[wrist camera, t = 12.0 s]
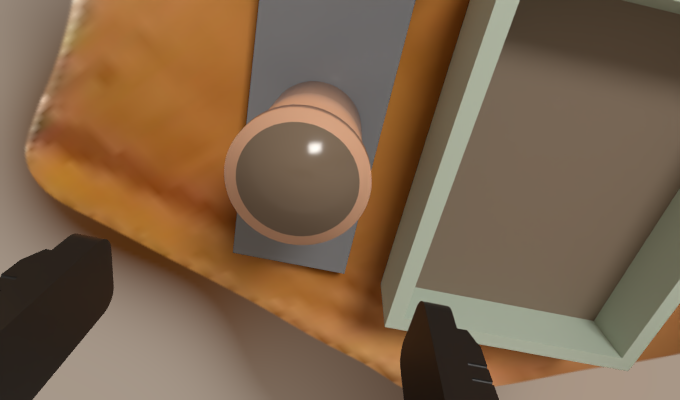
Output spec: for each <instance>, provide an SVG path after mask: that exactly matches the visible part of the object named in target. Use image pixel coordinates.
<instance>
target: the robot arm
mask: <svg viewBox="0 0 680 400" xmlns="http://www.w3.org/2000/svg"><path fill="white" fill-rule="evenodd" d="M111 255H112V254H111V245H110V242H109V241H108V240H106V239H102V238H97V237H91V236H86V235H81V234H72V235H70V236H69V237H67V238H66V239H65V240H64V241H63V242H61V243H60V244H59V245H58V246H56V247H55V248H54V249H52V250H47V249H45V250H42V251H40V252H38V253H35V254H33V255H31V256H29V257H26V258H24V259H21V260H20V261H18V262H17V263H16V264H14V265H13V266H12V267H11V268H9V269H8V270H7V271H5V272H4V273H2V274H1V277H0V400H32V399H33V398H34V397H35V396H36V395H37V393H38V392H39V391H40V390H41V388H42V387H43V386H44V385H45V384H46V383H47V381H48V380H49V379H50V378H51V376H52V375H53V374H54V373H55V372H56V370H57V369H58V368H59V367H60V366H61V364H62V363H63V362H64V361H65V360H66V358H67V357H68V356H69V355H70V354H71V352H72V351H73V350H74V349H75V347H76V346H77V345H78V344H79V343H80V341H81V340H82V339H83V338H84V337H85V335H86V334H87V333H88V332H89V330H90V329H91V328H92V327H93V326H94V324H95V323H96V322H97V321H98V320H99V318H100V317H101V316H102V315H103V314H104V312H105V311H106V309H107V308H108V306H109V304H110V302H111V298H112V295H113V271H112V256H111ZM400 368H401V377H402V386H403V394H404V400H499V398H498V395H497V393H496V390H495V387H494V385H492V382H493V381H492V378H491V376H490V373H489V370H488V369H487V364H486V361H485V358H484V356H483V353H482V350H481V347H480V346H479V345H478V343H477V342H476V341H475V340H474V338H473V337H472V336H471V334H470V333H469V332H468V331H467V330H464V329H458V328H457V326H456V323H455V320H454V316H453V313H452V310H451V308H450V307H449V306H445V305H440V304H435V303H430V302H425V301H420V302H419V303H418V305H417V307H416V310H415V313H414V315H413V318H412V320H411V323H410V326H409V328H408V331H407V334H406V336H405V339H404V342H403V345H402V350H401V358H400Z"/></svg>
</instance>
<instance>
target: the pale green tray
mask: <svg viewBox="0 0 680 400" xmlns="http://www.w3.org/2000/svg"><path fill="white" fill-rule="evenodd" d="M381 293H382V304H383V315H384V325H385V327H388V328H393V329H399V330H404V331H408V328H409V326H410V323H411V320H412V318H413V315H414V313H415V310H416V307H417V305H418V303H419V302H420V301H425V302H430V303H435V304H440V305H445V306H449V307H450V308H451V310H452V313H453V316H454V320H455V323H456V326H457V328H458V329H464V330H467V331H468V332H469V333H470V334H471V336H472V337H473V338H474V340H475V341H476V342H477V343H478V344H481V345H487V346H492V347H498V348H503V349H509V350H514V351H519V352H525V353H530V354H536V355H541V356H547V357H552V358H558V359H563V360H569V361H574V362H580V363H585V364H591V365H596V366H602V367H607V368H613V369H618V370H624V371H629V370H630V368H631V367H632V366H633V364H634V363H635V362H636V360H637V359H638V358H639V357H640V355H641V354H642V353H643V351H644V350H645V349H646V347H647V346H648V345H649V343H650V342H651V341H652V339H653V338H654V337H655V335H656V334H657V333H658V331H659V330H660V329H661V327H662V326H663V325H664V323H665V322H666V321H667V319H668V318H669V317H670V315H671V314H672V313H673V311H674V310H675V309H676V307H677V306H678V305H679V303H680V0H470V2H469V5H468V8H467V11H466V14H465V18H464V21H463V24H462V27H461V30H460V33H459V37H458V40H457V43H456V46H455V49H454V52H453V56H452V59H451V62H450V65H449V68H448V71H447V75H446V78H445V81H444V84H443V87H442V91H441V94H440V97H439V100H438V103H437V106H436V110H435V113H434V116H433V119H432V122H431V125H430V129H429V132H428V135H427V138H426V141H425V144H424V148H423V151H422V154H421V157H420V160H419V163H418V167H417V170H416V173H415V176H414V179H413V183H412V186H411V189H410V192H409V195H408V198H407V202H406V205H405V208H404V211H403V214H402V217H401V221H400V224H399V227H398V230H397V233H396V236H395V240H394V243H393V246H392V249H391V252H390V255H389V259H388V262H387V265H386V268H385V271H384V275H383V278H382V281H381Z"/></svg>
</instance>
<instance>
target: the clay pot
mask: <svg viewBox="0 0 680 400" xmlns="http://www.w3.org/2000/svg"><path fill="white" fill-rule="evenodd" d="M224 179H225V186H226V190H227V194H228V196H229V199H230V201H231V203H232V205H233V206H234V208H235V210H236V211H237V213H238V214H239V215H240V217H241V218H242V219H243V220H244V221H245V222H246V223H247V224H248V225H249V226H251V227H252V228H253V229H254V230H256V231H257V232H259V233H260V234H262V235H264V236H266V237H268V238H270V239H273V240H276V241H278V242H282V243H286V244H293V245H312V244H318V243H323V242H326V241H329V240H331V239H333V238H336V237H338V236H339V235H341V234H343V233H344V232H346V231H347V230H348V229H349V228H351V227H352V226H353V225H354V224H355V223H356V221H357V220H358V219H359V218H360V216H361V215H362V213H363V212H364V210H365V208H366V206H367V203H368V200H369V197H370V192H371V182H372V178H371V168H370V161H369V157H368V154H367V151H366V149H365V146H364V145H363V143H362V127H361V119H360V115H359V112H358V110H357V108H356V106H355V104H354V103H353V101H352V100H351V99H350V98H349V96H348V95H347V94H345V93H344V92H343V91H342V90H340V89H339V88H337V87H335V86H333V85H331V84H328V83H324V82H318V81H308V82H302V83H299V84H296V85H294V86H292V87H290V88H288V89H287V90H285V91H284V92H283V93H282V94H281V95H280V96H279V97H278V98H277V99H276V101H275V102H274V103H273V104H272V106H271V107H270V108H269V109H268V110H267V111H265V112H263V113H261V114H259V115H258V116H256V117H255V118H254V119H252V120H251V121H250V122H249V123H248V124H247V125H246V126H245V127H244V128H243V129H242V130H241V131H240V132H239V133H238V135H237V136H236V138H235V139H234V140H233V142H232V144H231V146H230V148H229V150H228V153H227V156H226V160H225V166H224Z"/></svg>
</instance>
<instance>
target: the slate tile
mask: <svg viewBox="0 0 680 400" xmlns="http://www.w3.org/2000/svg"><path fill="white" fill-rule="evenodd" d="M414 4H415V0H259V7H258V17H257V26H256V36H255V46H254V55H253V65H252V75H251V84H250V94H249V103H248V113H247V123H246V125H247V124H248V123H249V122H250V121H251V120H252V119H254V118H255V117H256V116H258V115H259V114H261V113H263V112H265V111H267V110H268V109H269V108H270V107H271V106H272V104H273V103H274V102H275V101H276V99H277V98H278V97H279V96H280V95H281V94H282V93H283V92H284V91H285V90H287V89H288V88H290V87H292V86H294V85H296V84H299V83H302V82H308V81H318V82H324V83H328V84H331V85H333V86H335V87H337V88H339V89H340V90H342V91H343V92H344V93H345V94H347V95H348V96H349V98H350V99H351V100H352V101H353V103H354V104H355V106H356V108H357V110H358V112H359V115H360V119H361V127H362V143H363V145H364V146H365V149H366V151H367V154H368V157H369V161H370V168H371V169H372V165H373V161H374V157H375V153H376V150H377V146H378V142H379V138H380V134H381V130H382V126H383V123H384V119H385V115H386V111H387V107H388V103H389V100H390V96H391V92H392V88H393V84H394V80H395V77H396V73H397V69H398V65H399V61H400V57H401V54H402V50H403V46H404V42H405V38H406V34H407V31H408V27H409V23H410V19H411V15H412V11H413V8H414ZM357 222H358V220H357V221H356V223H355V224H354V225H353V226H352V227H351V228H349V229H348V230H347V231H346V232H344V233H343V234H341V235H339V236H338V237H336V238H333V239H331V240H329V241H326V242H323V243H318V244H312V245H293V244H286V243H282V242H278V241H276V240H273V239H270V238H268V237H266V236H264V235H262V234H260V233H259V232H257V231H256V230H254V229H253V228H252V227H251V226H249V225H248V224H247V223H246V222H245V221H244V220H243V219H242V218H241V217H240V215H239V214H238V213H237V219H236V228H235V238H234V247H233V253H238V254H243V255H248V256H253V257H259V258H264V259H269V260H275V261H280V262H285V263H290V264H296V265H301V266H306V267H312V268H317V269H322V270H327V271H333V272H338V273H343V274H344V272H345V268H346V265H347V261H348V257H349V253H350V249H351V245H352V242H353V238H354V234H355V230H356V226H357Z"/></svg>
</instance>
